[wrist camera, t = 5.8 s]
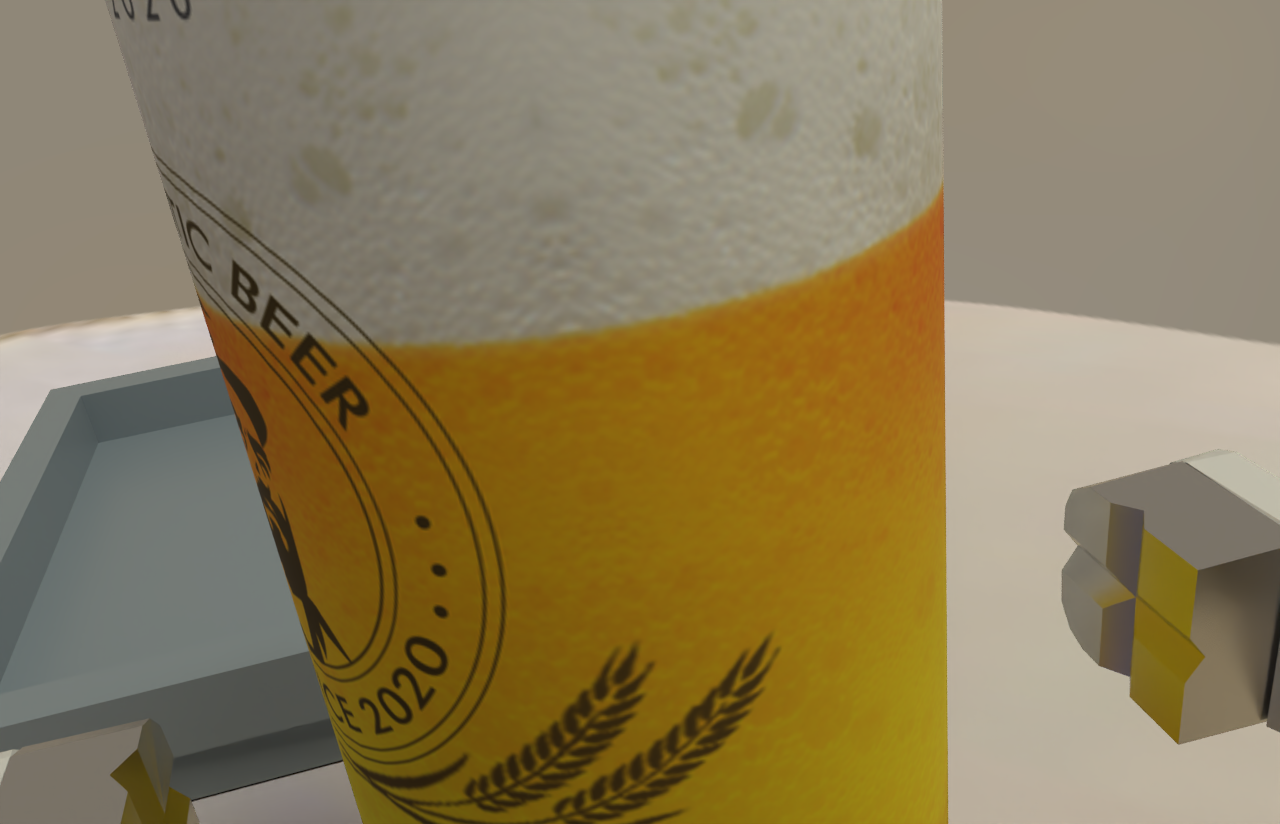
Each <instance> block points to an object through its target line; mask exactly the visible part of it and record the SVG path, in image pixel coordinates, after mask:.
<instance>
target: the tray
mask: <svg viewBox="0 0 1280 824" xmlns="http://www.w3.org/2000/svg"><path fill="white" fill-rule="evenodd" d="M148 718H150V719H152V720H153V721H155V722H156V723H158V724H159V725H160V726H161V728H162V731H163V733H164V735H165V737H166V740H167V742H168V744H169V747H170V749H171V751H172V753H173V756H174V760H173V766H172V772H171V778H170V784H169V787H171V788H173V789H174V790H176V791H178V792H180V793H182V794H183V795H185V796H187V797H189V798H190V799H191V800H193V799H197V798H201V797H205V796H209V795H212V794H216V793H220V792H224V791H227V790H231V789H235V788H239V787H242V786H246V785H250V784H254V783H257V782H261V781H265V780H269V779H273V778H276V777H280V776H284V775H288V774H291V773H295V772H299V771H303V770H306V769H310V768H314V767H318V766H321V765H325V764H329V763H333V762H337V761H340V760H343V758H342V755H341V752H340V749H339V745H338V742H337V739H336V736H335V733H334V729H333V726H332V723H331V720H330V717H329V714H328V710H327V707H326V704H325V701H324V698H323V694H322V691H321V688H320V685H319V682H318V678H317V675H316V672H315V669H314V666H313V662H312V659H311V656H310V653H309V650H308V646H307V643H306V640H305V637H304V634H303V630H302V627H301V624H300V621H299V618H298V614H297V611H296V608H295V605H294V602H293V598H292V595H291V592H290V589H289V586H288V583H287V579H286V576H285V573H284V570H283V567H282V563H281V560H280V557H279V554H278V551H277V547H276V544H275V541H274V538H273V535H272V531H271V528H270V525H269V522H268V519H267V515H266V512H265V509H264V506H263V503H262V499H261V496H260V493H259V490H258V487H257V483H256V480H255V477H254V474H253V471H252V468H251V464H250V461H249V458H248V455H247V452H246V448H245V445H244V442H243V439H242V436H241V432H240V429H239V426H238V423H237V420H236V416H235V413H234V410H233V407H232V404H231V400H230V397H229V394H228V391H227V388H226V384H225V381H224V378H223V375H222V372H221V368H220V365H219V362H218V359H217V356H215V357H210V358H206V359H201V360H196V361H191V362H186V363H181V364H176V365H171V366H166V367H161V368H156V369H151V370H146V371H141V372H137V373H132V374H127V375H122V376H117V377H112V378H107V379H102V380H97V381H92V382H87V383H82V384H77V385H72V386H67V387H63V388H58V389H53V390H50V392H49V394H48V396H47V398H46V399H45V401H44V403H43V405H42V407H41V409H40V410H39V412H38V414H37V416H36V418H35V419H34V421H33V423H32V425H31V427H30V429H29V430H28V432H27V434H26V436H25V438H24V440H23V441H22V443H21V445H20V447H19V449H18V451H17V452H16V454H15V456H14V458H13V460H12V462H11V463H10V465H9V467H8V469H7V471H6V472H5V474H4V476H3V478H2V480H1V482H0V752H4V751H8V750H12V749H14V750H20V749H21V748H22V747H25V746H30V745H34V744H39V743H43V742H47V741H52V740H56V739H61V738H65V737H69V736H74V735H78V734H82V733H87V732H91V731H96V730H100V729H104V728H109V727H113V726H118V725H122V724H126V723H131V722H135V721H139V720H144V719H148Z"/></svg>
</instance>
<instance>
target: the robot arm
mask: <svg viewBox="0 0 1280 824" xmlns="http://www.w3.org/2000/svg"><path fill="white" fill-rule="evenodd" d="M1064 530H1065V532H1066V533H1067V534H1068V535H1069V536H1070V537H1071V539H1072V540H1073V541H1074V542H1075V543H1076V544H1077V548H1076V549H1075V551H1074V552H1073V554H1072V555H1071V557H1070V559H1069V560H1068V562H1067V563H1066V565H1065V566H1064V568H1063V569H1062V604H1063V607H1064V610H1065V613H1066V617H1067V620H1068V623H1069V626H1070V629H1071V631H1072V632H1073V634H1074V636H1075V637H1076V639H1077V641H1078V642H1079V644H1080V646H1081V647H1082V649H1083V650H1084V651H1085V652H1086V653H1087V654H1088V655H1089V656H1090V657H1091V658H1092V659H1093V660H1094V661H1095V662H1096V663H1097V664H1098V665H1099V666H1101V667H1104V668H1106V669H1109V670H1112V671H1115V672H1118V673H1120V674H1123V675H1126V676H1129V677H1130V697H1131V698H1132V699H1133V700H1134V701H1135V702H1136V703H1137V704H1138V705H1139V706H1140V707H1141V708H1142V709H1143V710H1144V711H1145V712H1146V713H1147V714H1148V715H1149V716H1150V717H1151V718H1152V719H1153V720H1154V721H1155V722H1156V723H1157V724H1158V725H1159V726H1160V727H1161V728H1162V729H1163V730H1164V731H1165V732H1166V733H1167V734H1168V735H1169V736H1170V737H1171V738H1172V739H1173V740H1174V741H1175V742H1176V743H1177V744H1178V745H1179V744H1183V743H1187V742H1191V741H1194V740H1198V739H1202V738H1206V737H1210V736H1213V735H1217V734H1221V733H1225V732H1228V731H1232V730H1236V729H1240V728H1244V727H1247V726H1251V725H1255V724H1259V723H1263V722H1266V721H1267V725H1266V726H1267V727H1269V728H1271V729H1274V730H1276V731H1278V732H1280V478H1278V477H1277V476H1275V475H1273V474H1272V473H1270V472H1268V471H1267V470H1265V469H1264V468H1262V467H1260V466H1259V465H1257V464H1255V463H1254V462H1252V461H1250V460H1249V459H1247V458H1245V457H1244V456H1242V455H1241V454H1239V453H1237V452H1234V451H1228V450H1221V449H1217V450H1213V451H1210V452H1206V453H1203V454H1199V455H1196V456H1192V457H1189V458H1185V459H1182V460H1178V461H1175V462H1171V463H1170V464H1169V465H1165V466H1161V467H1158V468H1154V469H1150V470H1146V471H1142V472H1139V473H1135V474H1131V475H1127V476H1123V477H1119V478H1116V479H1112V480H1108V481H1104V482H1100V483H1096V484H1093V485H1089V486H1085V487H1081V488H1077V489H1074V490H1072V492H1071V494H1070V497H1069V499H1068V501H1067V504H1066V506H1065V520H1064ZM173 760H174V756H173V753H172V751H171V749H170V747H169V744H168V742H167V740H166V737H165V735H164V733H163V731H162V728H161V726H160V725H159V724H158V723H156V722H155V721H153V720H152V719H150V718H148V719H144V720H139V721H135V722H131V723H126V724H122V725H118V726H113V727H109V728H104V729H100V730H96V731H91V732H87V733H82V734H78V735H74V736H69V737H65V738H61V739H56V740H52V741H47V742H43V743H39V744H34V745H30V746H25V747H22V748H21V749H20V750H14V749H12V750H8V751H4V752H0V824H200V823H199V820H198V817H197V815H196V812H195V809H194V807H193V804H192V801H191V799H190V798H189V797H187V796H185V795H183V794H182V793H180V792H178V791H176V790H174V789H173V788H171V787H169V784H170V778H171V772H172V766H173Z"/></svg>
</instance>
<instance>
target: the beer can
mask: <svg viewBox="0 0 1280 824" xmlns="http://www.w3.org/2000/svg"><path fill="white" fill-rule="evenodd" d="M105 1H106V4H107V7H108V11H109V14H110V17H111V20H112V23H113V27H114V30H115V33H116V36H117V39H118V43H119V46H120V49H121V52H122V55H123V59H124V62H125V65H126V68H127V71H128V75H129V78H130V81H131V84H132V87H133V91H134V94H135V97H136V100H137V103H138V106H139V110H140V113H141V116H142V119H143V122H144V126H145V129H146V132H147V135H148V138H149V142H150V145H151V148H152V151H153V154H154V158H155V161H156V164H157V167H158V170H159V174H160V177H161V180H162V183H163V186H164V189H165V193H166V196H167V199H168V202H169V206H170V209H171V212H172V215H173V218H174V222H175V225H176V228H177V231H178V234H179V237H180V241H181V244H182V247H183V250H184V253H185V257H186V260H187V263H188V266H189V269H190V273H191V276H192V279H193V282H194V285H195V289H196V292H197V295H198V298H199V301H200V305H201V308H202V311H203V314H204V317H205V321H206V324H207V327H208V330H209V333H210V337H211V340H212V343H213V346H214V349H215V352H216V356H217V359H218V362H219V365H220V368H221V372H222V375H223V378H224V381H225V384H226V388H227V391H228V394H229V397H230V400H231V404H232V407H233V410H234V413H235V416H236V420H237V423H238V426H239V429H240V432H241V436H242V439H243V442H244V445H245V448H246V452H247V455H248V458H249V461H250V464H251V468H252V471H253V474H254V477H255V480H256V483H257V487H258V490H259V493H260V496H261V499H262V503H263V506H264V509H265V512H266V515H267V519H268V522H269V525H270V528H271V531H272V535H273V538H274V541H275V544H276V547H277V551H278V554H279V557H280V560H281V563H282V567H283V570H284V573H285V576H286V579H287V583H288V586H289V589H290V592H291V595H292V598H293V602H294V605H295V608H296V611H297V614H298V618H299V621H300V624H301V627H302V630H303V634H304V637H305V640H306V643H307V646H308V650H309V653H310V656H311V659H312V662H313V666H314V669H315V672H316V675H317V678H318V682H319V685H320V688H321V691H322V694H323V698H324V701H325V704H326V707H327V710H328V714H329V717H330V720H331V723H332V726H333V729H334V733H335V736H336V739H337V742H338V745H339V749H340V752H341V755H342V758H343V761H344V765H345V768H346V771H347V774H348V777H349V781H350V784H351V787H352V790H353V793H354V797H355V800H356V803H357V806H358V809H359V813H360V816H361V819H362V822H363V824H948V739H947V606H946V473H945V340H944V207H943V78H942V0H105Z"/></svg>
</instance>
